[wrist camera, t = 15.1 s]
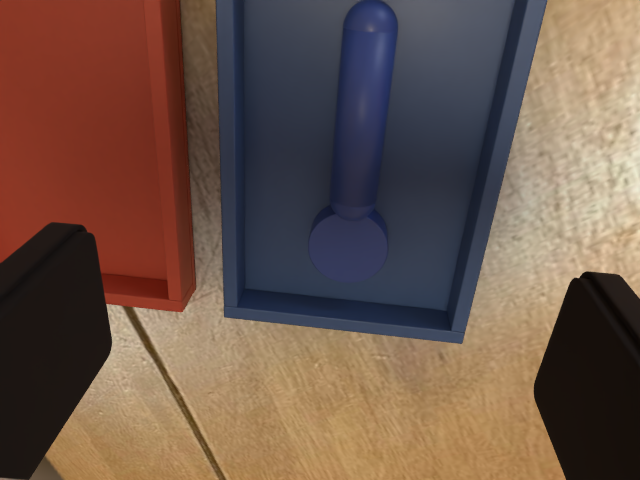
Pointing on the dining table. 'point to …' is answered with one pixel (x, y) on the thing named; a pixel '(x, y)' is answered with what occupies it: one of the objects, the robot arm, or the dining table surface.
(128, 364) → the dining table surface
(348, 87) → the blue spoon
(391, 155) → the blue tray
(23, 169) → the red tray
